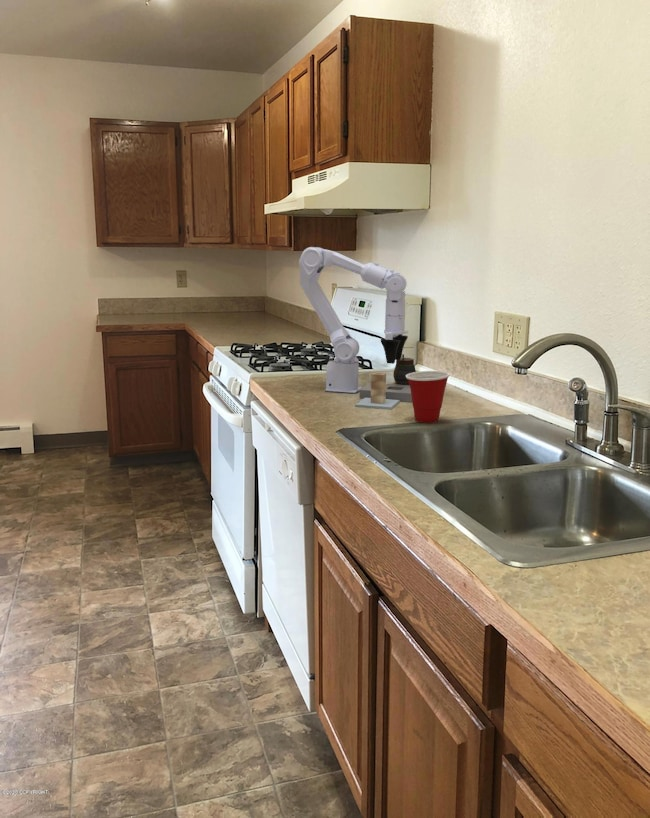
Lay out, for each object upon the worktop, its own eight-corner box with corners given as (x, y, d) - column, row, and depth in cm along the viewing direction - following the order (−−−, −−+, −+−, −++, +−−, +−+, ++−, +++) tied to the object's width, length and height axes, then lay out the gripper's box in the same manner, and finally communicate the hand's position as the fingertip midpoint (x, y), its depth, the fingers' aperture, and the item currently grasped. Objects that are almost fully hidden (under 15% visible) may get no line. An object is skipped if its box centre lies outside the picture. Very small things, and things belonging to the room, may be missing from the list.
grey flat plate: (359, 398, 205) (359, 389, 204) (370, 390, 216) (370, 382, 215) (421, 403, 199) (421, 394, 199) (429, 395, 210) (429, 386, 210)
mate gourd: (415, 381, 232) (416, 351, 230) (416, 385, 224) (417, 354, 222) (393, 381, 233) (394, 350, 230) (393, 385, 225) (393, 353, 223)
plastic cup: (399, 415, 184) (401, 369, 181) (440, 414, 185) (442, 369, 182) (409, 425, 173) (411, 377, 171) (452, 424, 175) (455, 376, 172)
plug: (370, 403, 196) (371, 374, 194) (373, 400, 199) (374, 372, 197) (382, 403, 195) (383, 375, 193) (385, 401, 198) (386, 373, 196)
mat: (355, 406, 194) (355, 404, 194) (365, 399, 203) (365, 397, 203) (391, 409, 191) (391, 407, 191) (399, 402, 200) (399, 400, 200)
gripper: (403, 318, 201) (401, 365, 204) (413, 313, 214) (412, 358, 217) (378, 317, 203) (377, 364, 206) (390, 313, 216) (389, 357, 219)
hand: (393, 361), depth 212 cm, fingers open, 7 cm apart
